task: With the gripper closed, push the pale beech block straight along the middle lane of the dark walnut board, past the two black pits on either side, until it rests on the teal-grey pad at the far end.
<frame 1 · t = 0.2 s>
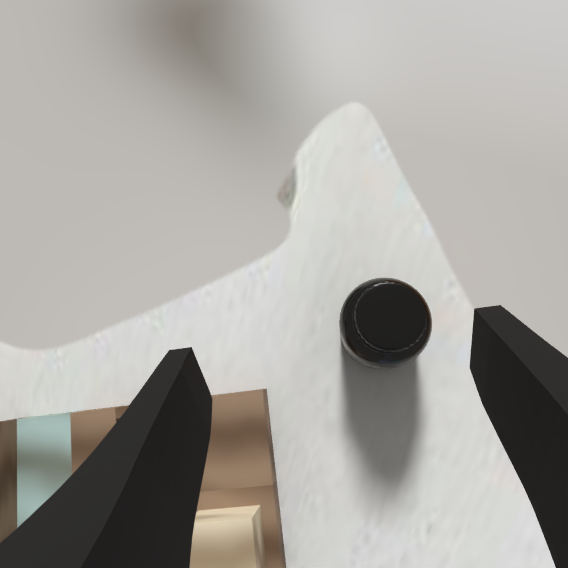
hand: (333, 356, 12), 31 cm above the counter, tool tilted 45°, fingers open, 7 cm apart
beech block: (232, 542, 38), point 2 cm above the counter, touching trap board
supplement bottle: (377, 331, 42), on the counter
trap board: (153, 540, 41), on the counter
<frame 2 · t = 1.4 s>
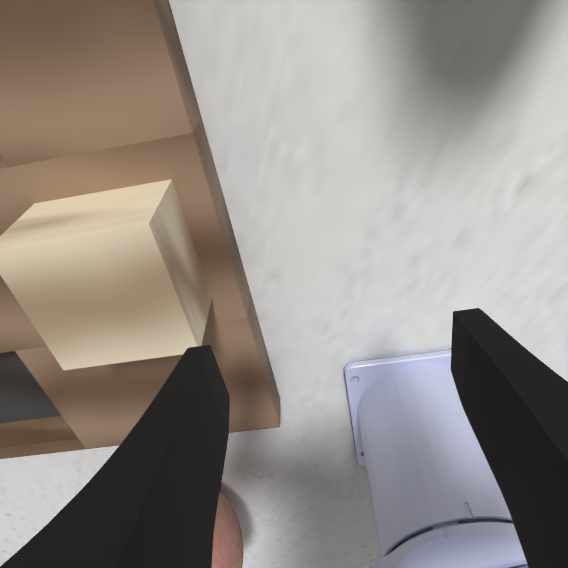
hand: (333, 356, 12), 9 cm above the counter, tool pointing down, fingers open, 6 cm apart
beech block: (129, 253, 18), point 2 cm above the counter, touching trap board
apple: (192, 486, 33), on the counter
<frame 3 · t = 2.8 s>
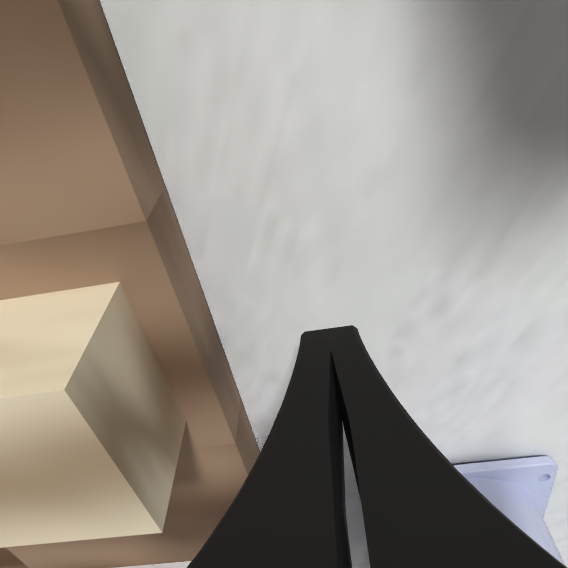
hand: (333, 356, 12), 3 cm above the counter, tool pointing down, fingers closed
beech block: (67, 371, 13), point 2 cm above the counter, touching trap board
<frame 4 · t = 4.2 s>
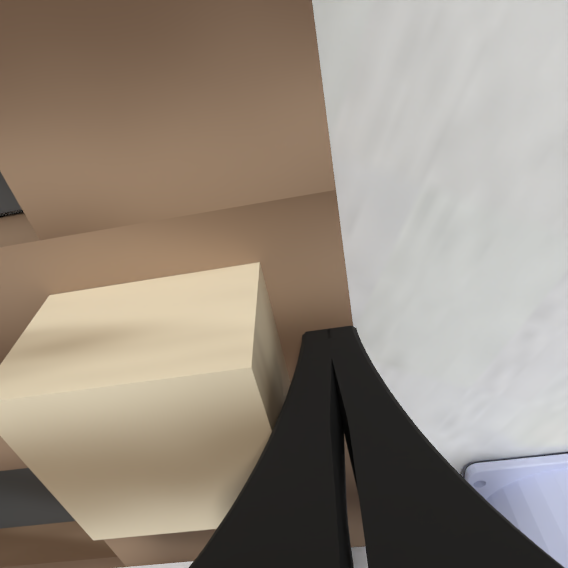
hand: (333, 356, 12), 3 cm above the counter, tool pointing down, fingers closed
beech block: (185, 357, 13), point 2 cm above the counter, touching gripper
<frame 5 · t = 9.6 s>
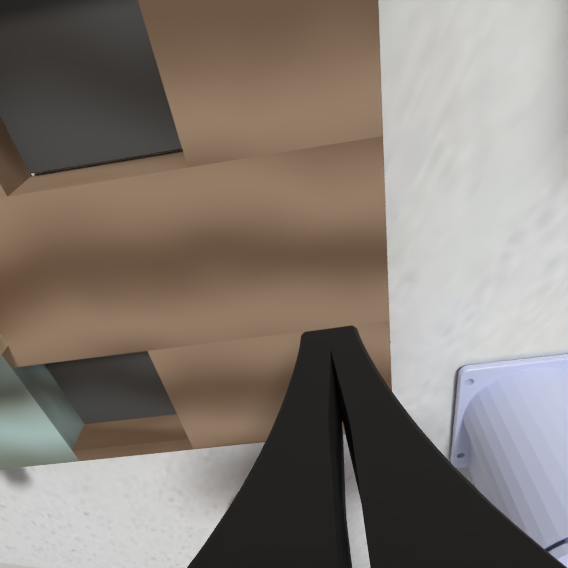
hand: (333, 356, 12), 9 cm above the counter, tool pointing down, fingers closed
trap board: (116, 255, 21), on the counter
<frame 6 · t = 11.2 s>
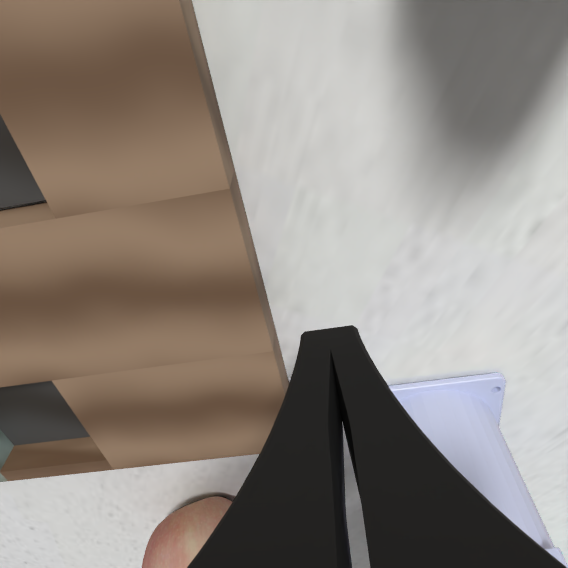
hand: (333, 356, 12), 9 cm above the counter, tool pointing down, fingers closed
apple: (211, 501, 34), on the counter
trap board: (18, 292, 22), on the counter
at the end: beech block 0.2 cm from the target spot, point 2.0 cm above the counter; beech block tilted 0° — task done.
